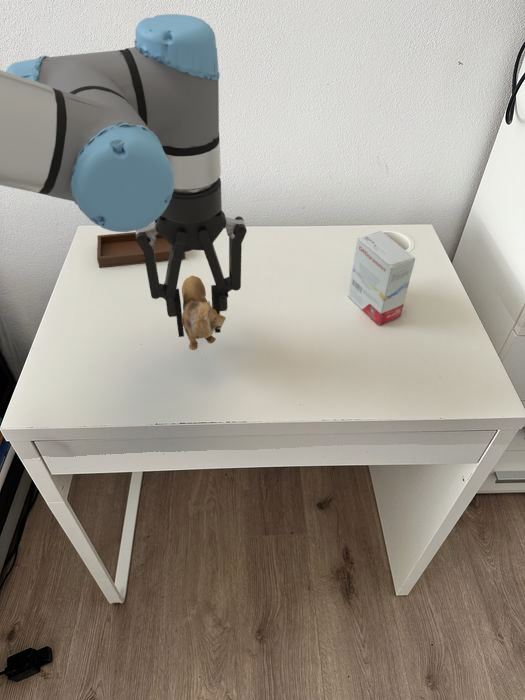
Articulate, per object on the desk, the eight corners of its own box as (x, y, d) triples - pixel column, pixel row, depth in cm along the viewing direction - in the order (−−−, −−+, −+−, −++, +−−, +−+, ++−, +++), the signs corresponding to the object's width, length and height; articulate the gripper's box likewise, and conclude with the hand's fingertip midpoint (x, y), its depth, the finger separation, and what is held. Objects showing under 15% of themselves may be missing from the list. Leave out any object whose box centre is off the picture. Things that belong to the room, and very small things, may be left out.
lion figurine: (233, 358, 73) (226, 309, 66) (195, 369, 72) (185, 321, 65) (203, 292, 82) (195, 244, 76) (170, 301, 81) (158, 253, 75)
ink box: (401, 317, 87) (418, 257, 78) (377, 326, 85) (392, 267, 77) (369, 287, 92) (382, 228, 84) (346, 296, 90) (356, 237, 82)
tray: (99, 267, 95) (97, 258, 93) (99, 244, 99) (97, 235, 98) (185, 258, 97) (184, 249, 95) (181, 236, 102) (180, 227, 100)
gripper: (257, 157, 64) (253, 304, 81) (107, 166, 61) (135, 317, 78) (270, 188, 59) (263, 339, 76) (107, 200, 56) (137, 354, 73)
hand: (198, 328), depth 77 cm, fingers closed on lion figurine, 4 cm apart
